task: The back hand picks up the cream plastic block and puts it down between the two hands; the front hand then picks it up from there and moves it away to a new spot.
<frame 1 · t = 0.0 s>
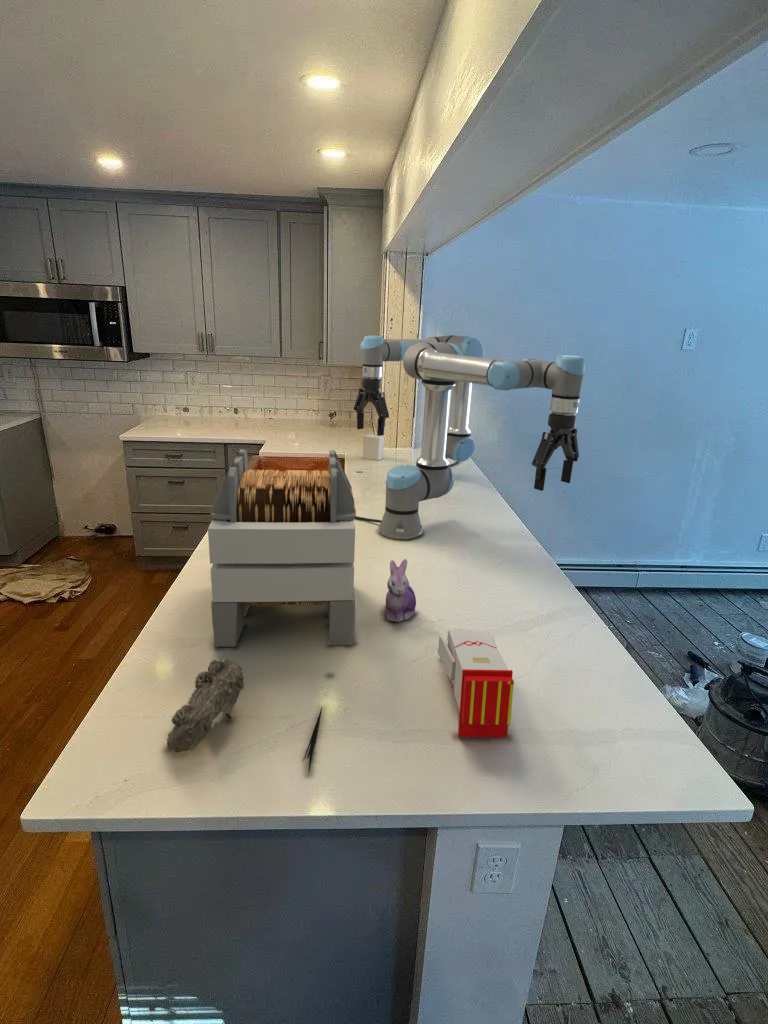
front hand: (552, 485, 166), 28 cm above the counter, tool pointing down, fingers open, 13 cm apart
back hand: (370, 432, 226), 28 cm above the counter, tool pointing down, fingers open, 13 cm apart
toy: (469, 691, 119), on the counter
feather: (319, 719, 109), on the counter
fossil: (212, 717, 108), on the counter
transformer: (288, 611, 146), on the counter
block: (373, 457, 299), on the counter
figurine: (399, 614, 147), on the counter
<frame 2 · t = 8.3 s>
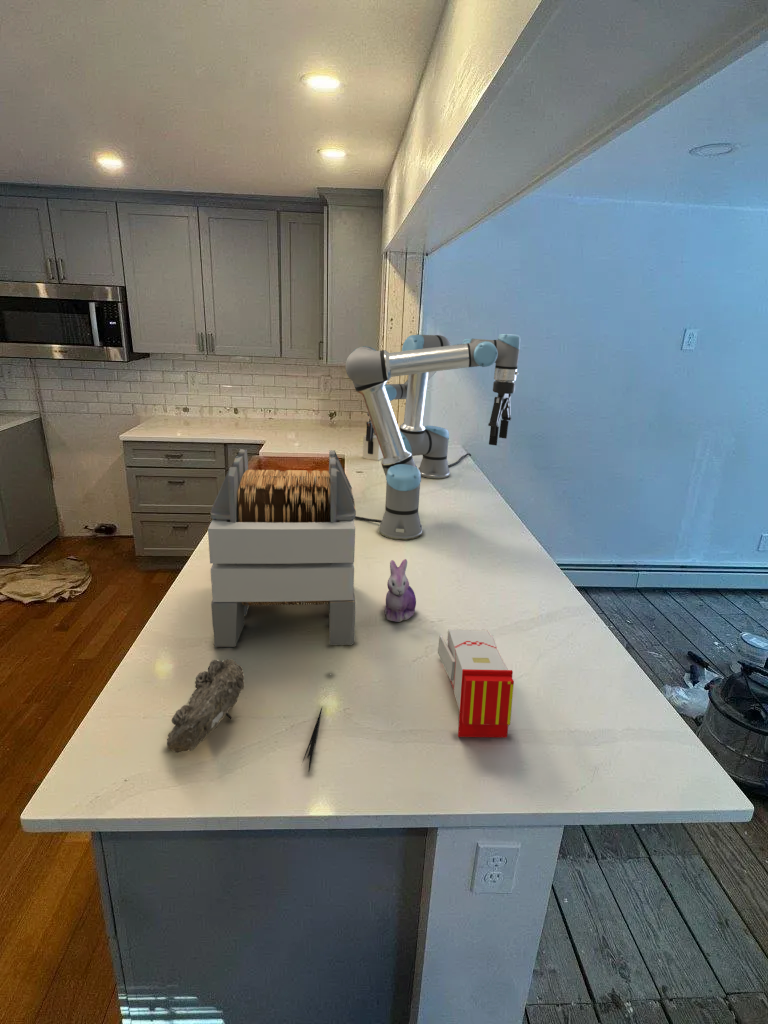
front hand: (497, 441, 203), 32 cm above the counter, tool pointing down, fingers open, 13 cm apart
back hand: (373, 452, 298), 3 cm above the counter, tool pointing down, fingers closed on block, 6 cm apart
block: (373, 457, 299), on the counter, touching back hand
everything else where it was.
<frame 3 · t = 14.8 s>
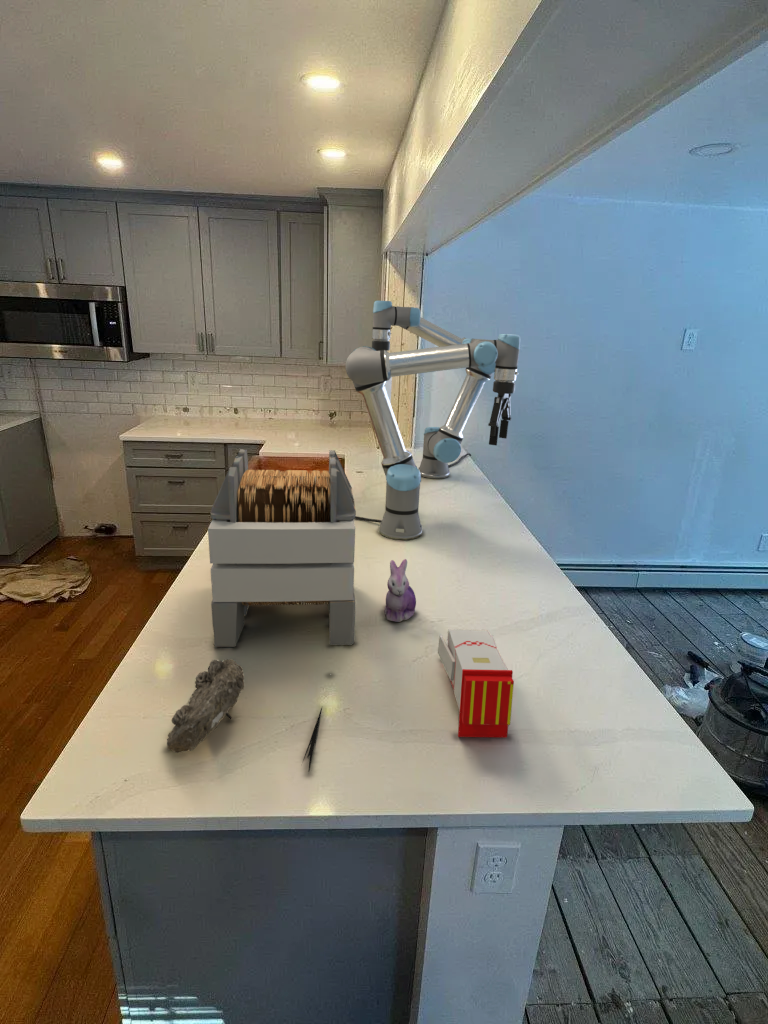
front hand: (497, 441, 203), 32 cm above the counter, tool pointing down, fingers open, 13 cm apart
back hand: (378, 396, 242), 39 cm above the counter, tool pointing down, fingers closed on block, 6 cm apart
block: (378, 403, 243), point 36 cm above the counter, touching back hand
everything else where it was.
when the back hand's fingers open (5 cm above the counter, at t = 21.1 s): block drops 2 cm, on the counter.
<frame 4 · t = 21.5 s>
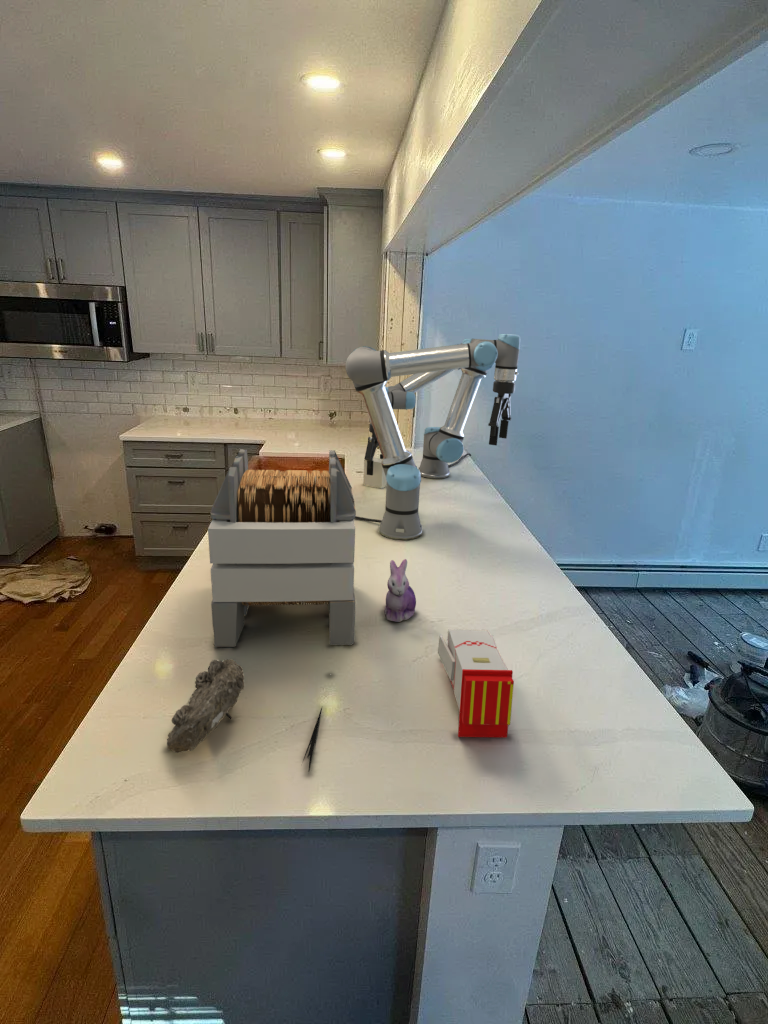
front hand: (497, 441, 203), 32 cm above the counter, tool pointing down, fingers open, 13 cm apart
back hand: (376, 471, 251), 6 cm above the counter, tool pointing down, fingers open, 12 cm apart
block: (375, 485, 253), on the counter
everything else where it was.
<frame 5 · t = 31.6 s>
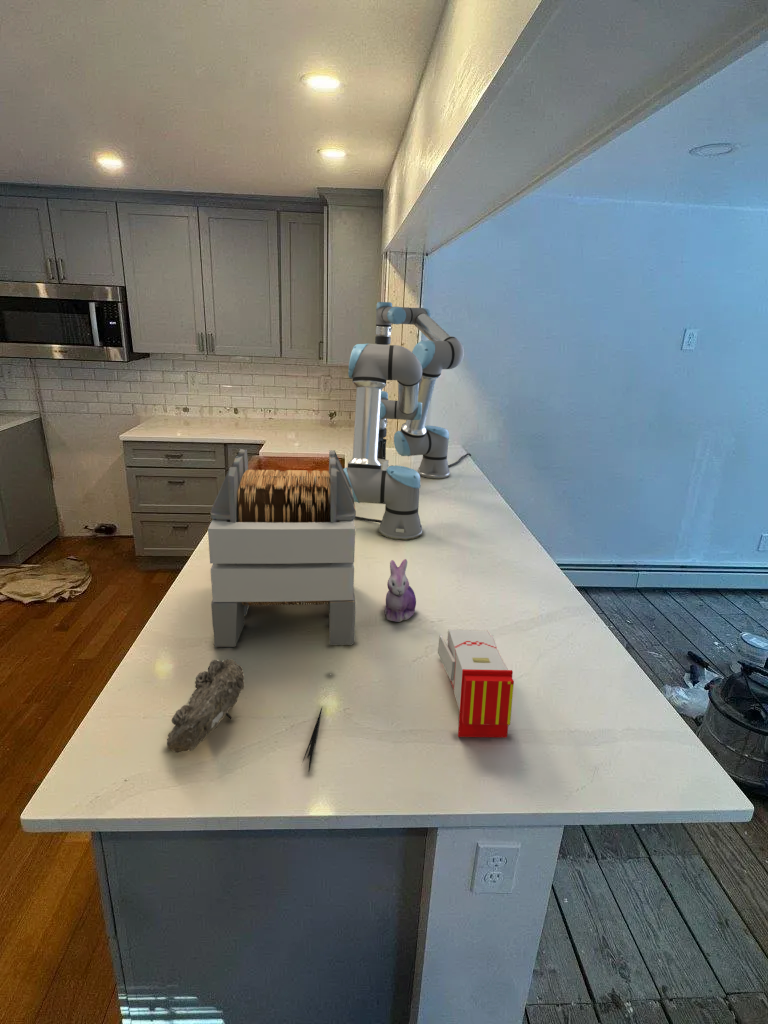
front hand: (376, 478, 252), 3 cm above the counter, tool pointing down, fingers closed on block, 6 cm apart
back hand: (381, 380, 282), 41 cm above the counter, tool pointing down, fingers open, 13 cm apart
block: (375, 485, 253), on the counter, touching front hand
everything else where it was.
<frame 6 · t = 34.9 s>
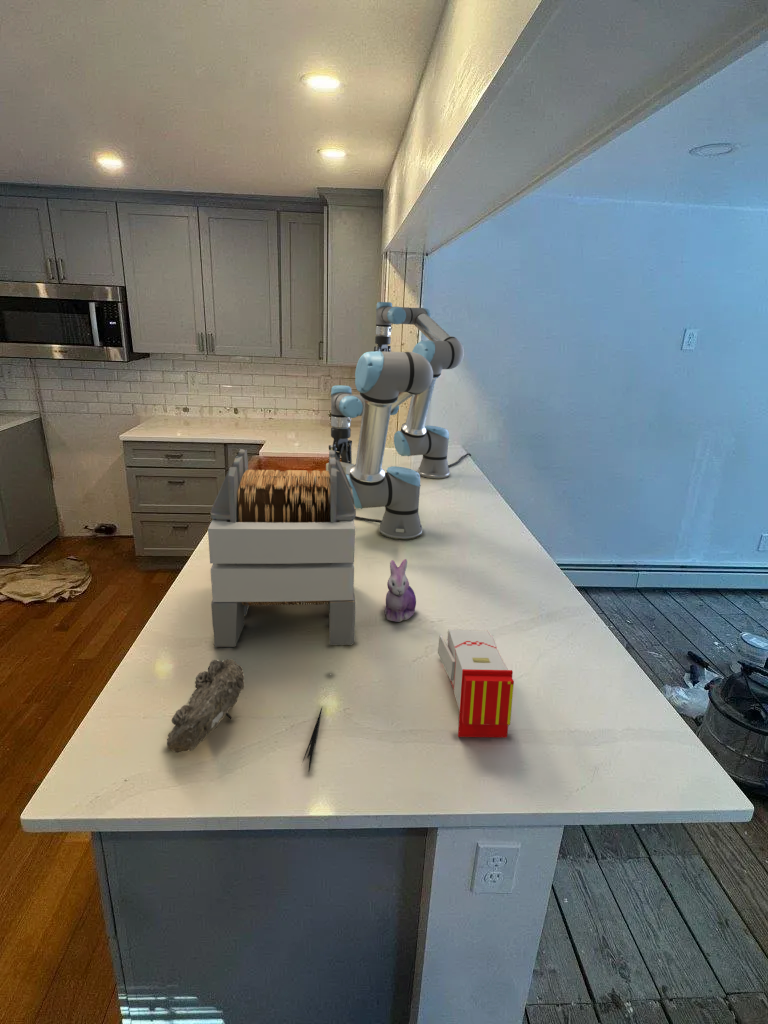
front hand: (340, 485, 223), 8 cm above the counter, tool pointing down, fingers closed on block, 6 cm apart
back hand: (381, 380, 282), 41 cm above the counter, tool pointing down, fingers open, 13 cm apart
block: (339, 492, 224), point 5 cm above the counter, touching front hand
everything else where it was.
when the front hand's fingers open (5 cm above the counter, at t = 38.3 s): block drops 2 cm, on the counter.
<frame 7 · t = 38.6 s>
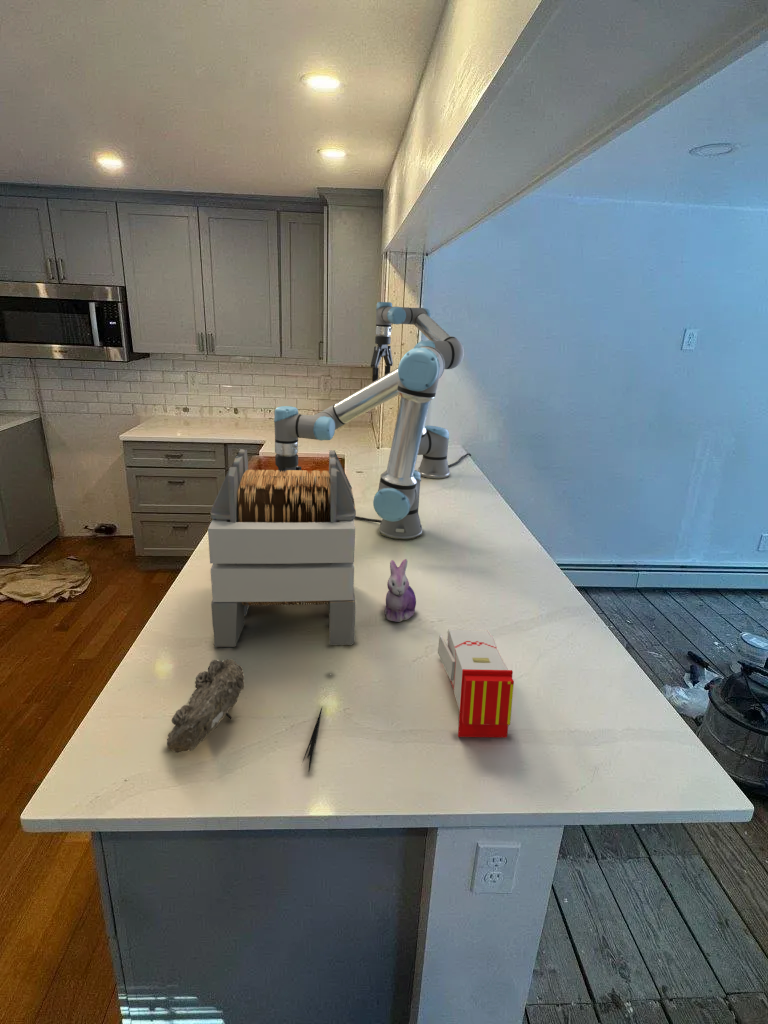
front hand: (287, 517, 195), 6 cm above the counter, tool pointing down, fingers open, 9 cm apart
back hand: (381, 380, 282), 41 cm above the counter, tool pointing down, fingers open, 13 cm apart
block: (287, 532, 197), on the counter
everything else where it was.
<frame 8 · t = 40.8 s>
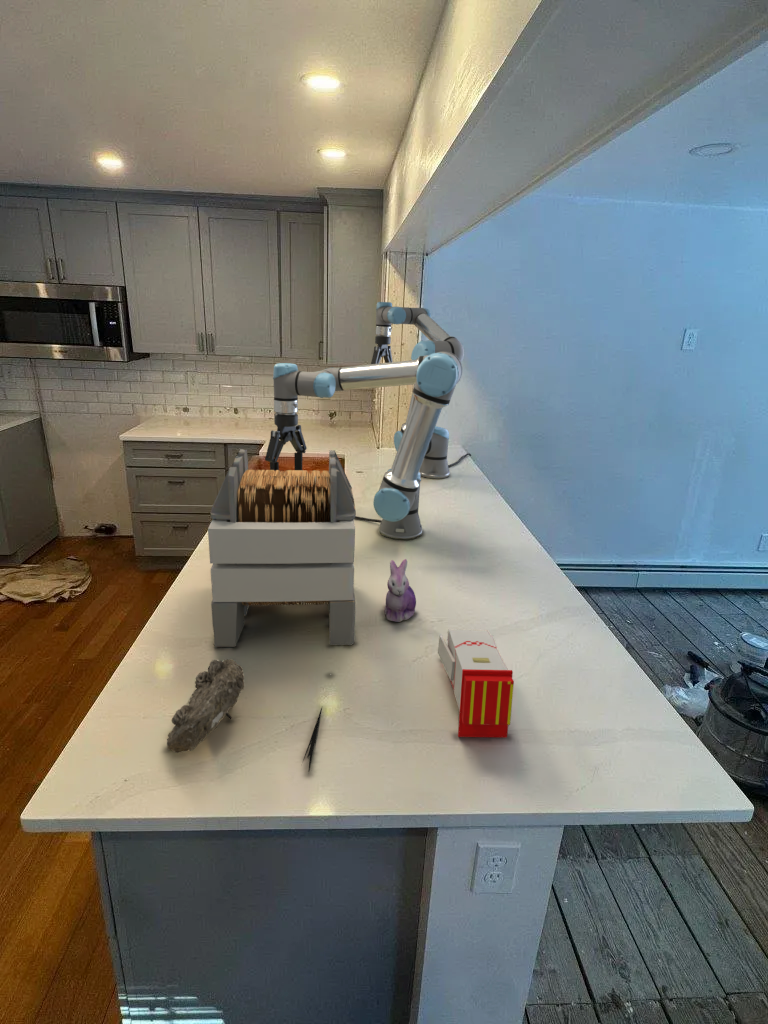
front hand: (287, 476, 190), 20 cm above the counter, tool pointing down, fingers open, 13 cm apart
back hand: (381, 380, 282), 41 cm above the counter, tool pointing down, fingers open, 13 cm apart
nothing on the counter moved.
at the end: block inside the target area (0.1 cm from its centre), on the counter; block tilted 0°; the two hands never held the block at the same time; the front hand is holding nothing; the back hand is holding nothing; block at rest at the end (0.0 cm/s) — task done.
